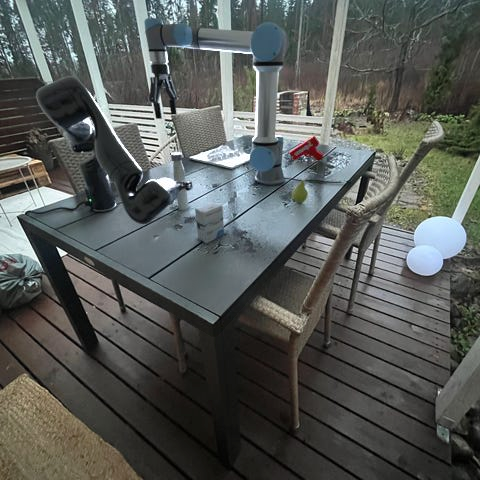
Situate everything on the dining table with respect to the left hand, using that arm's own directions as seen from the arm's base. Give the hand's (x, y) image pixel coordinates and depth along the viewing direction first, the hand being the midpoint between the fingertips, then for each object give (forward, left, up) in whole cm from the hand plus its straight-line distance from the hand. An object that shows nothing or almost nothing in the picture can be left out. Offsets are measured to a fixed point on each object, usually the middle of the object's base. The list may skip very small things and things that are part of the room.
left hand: (173, 185), depth 94 cm
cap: (-2, +17, +6) cm, 18 cm away
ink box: (+13, -6, -17) cm, 22 cm away
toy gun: (+64, +87, -17) cm, 109 cm away
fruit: (+49, +23, -17) cm, 57 cm away
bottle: (-2, +17, -17) cm, 24 cm away
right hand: (-13, +53, +14) cm, 56 cm away
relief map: (+11, +91, -17) cm, 93 cm away
